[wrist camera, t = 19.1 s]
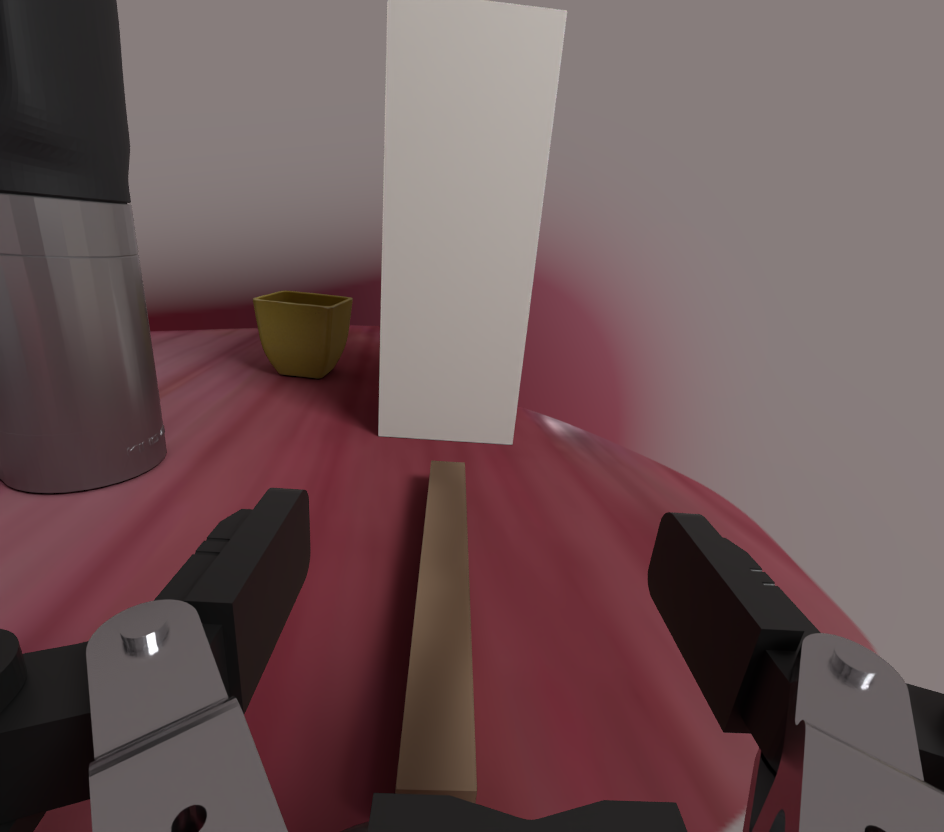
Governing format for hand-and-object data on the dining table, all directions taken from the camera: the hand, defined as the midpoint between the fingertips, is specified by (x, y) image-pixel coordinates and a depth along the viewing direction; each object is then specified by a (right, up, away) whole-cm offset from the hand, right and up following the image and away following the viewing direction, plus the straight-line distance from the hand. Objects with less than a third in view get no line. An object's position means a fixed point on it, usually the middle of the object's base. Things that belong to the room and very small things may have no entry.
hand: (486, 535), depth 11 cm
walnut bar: (-2, -7, +15) cm, 16 cm away
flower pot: (-20, +8, +48) cm, 53 cm away
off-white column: (-3, +3, +38) cm, 38 cm away
